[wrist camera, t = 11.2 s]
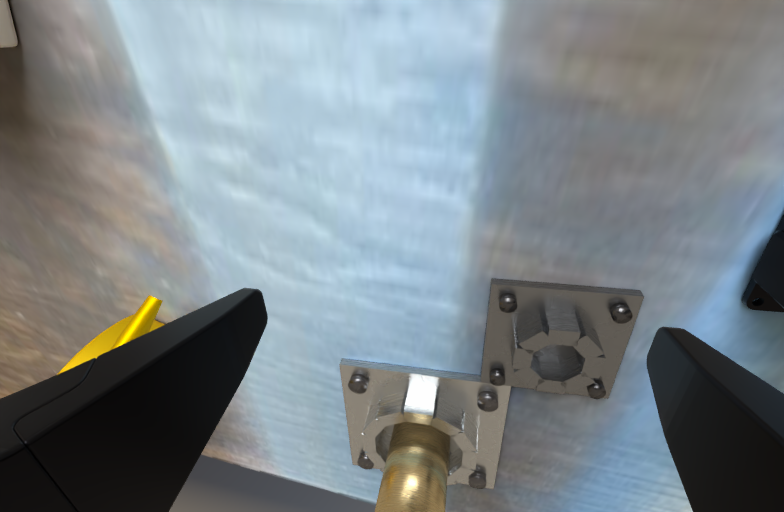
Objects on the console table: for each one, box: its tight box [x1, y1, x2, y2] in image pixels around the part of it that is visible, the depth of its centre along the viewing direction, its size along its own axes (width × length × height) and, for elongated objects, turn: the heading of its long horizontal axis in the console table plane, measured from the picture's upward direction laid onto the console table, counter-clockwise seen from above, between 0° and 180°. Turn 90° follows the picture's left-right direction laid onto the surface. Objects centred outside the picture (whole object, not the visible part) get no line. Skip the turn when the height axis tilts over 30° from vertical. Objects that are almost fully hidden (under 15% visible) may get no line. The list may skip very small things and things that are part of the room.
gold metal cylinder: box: [375, 422, 451, 512], centre depth 26 cm, size 4×4×10 cm
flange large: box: [340, 359, 511, 489], centre depth 30 cm, size 12×12×2 cm
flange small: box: [481, 279, 644, 399], centre depth 24 cm, size 8×8×2 cm
